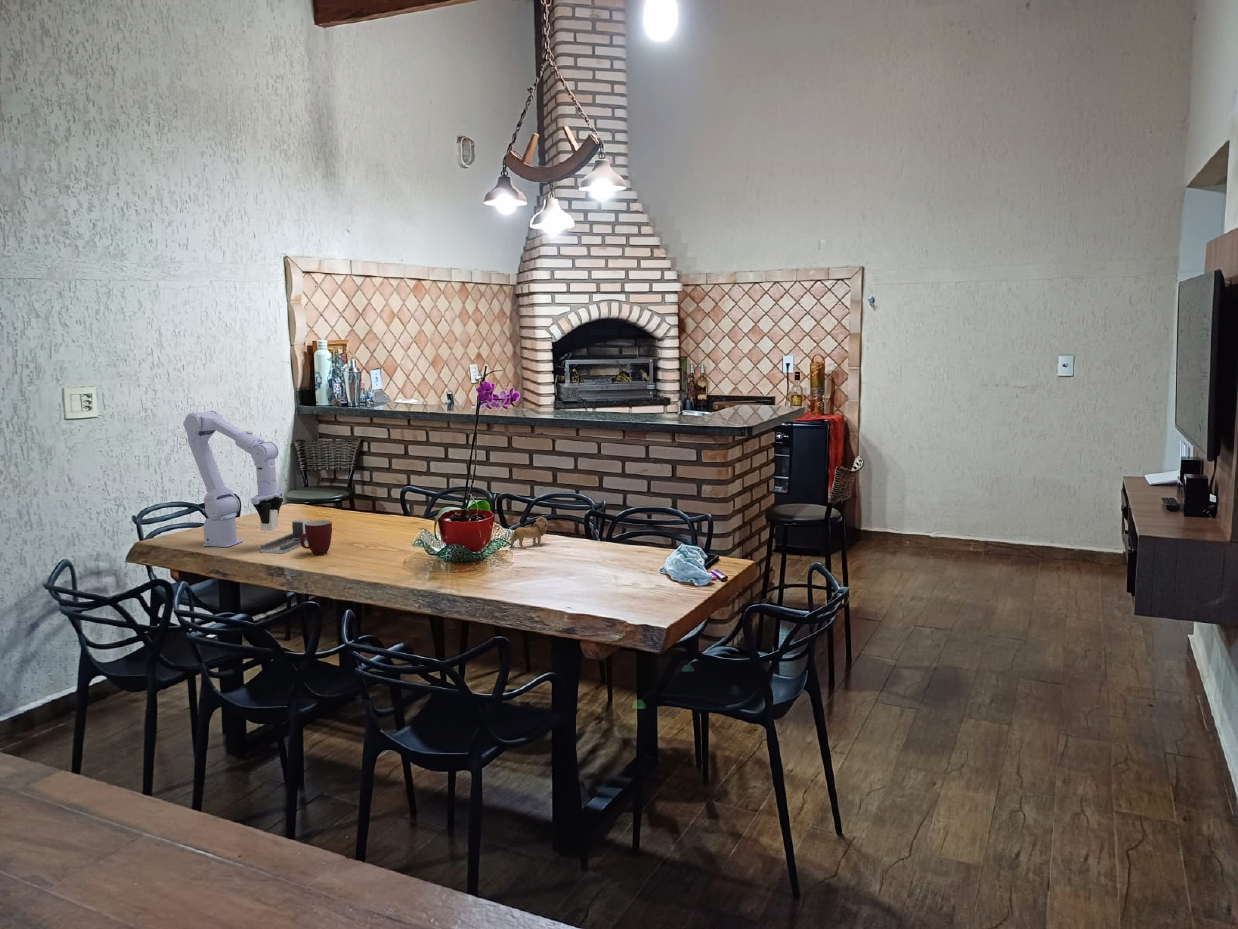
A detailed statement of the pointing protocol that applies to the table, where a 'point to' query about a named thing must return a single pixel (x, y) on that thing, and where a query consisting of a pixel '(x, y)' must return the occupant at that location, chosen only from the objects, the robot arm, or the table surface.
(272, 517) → the white rectangular block
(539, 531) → the lion figurine
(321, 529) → the mug
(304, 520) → the rail
